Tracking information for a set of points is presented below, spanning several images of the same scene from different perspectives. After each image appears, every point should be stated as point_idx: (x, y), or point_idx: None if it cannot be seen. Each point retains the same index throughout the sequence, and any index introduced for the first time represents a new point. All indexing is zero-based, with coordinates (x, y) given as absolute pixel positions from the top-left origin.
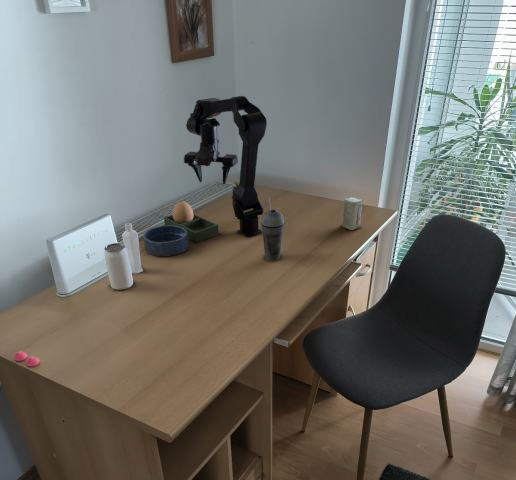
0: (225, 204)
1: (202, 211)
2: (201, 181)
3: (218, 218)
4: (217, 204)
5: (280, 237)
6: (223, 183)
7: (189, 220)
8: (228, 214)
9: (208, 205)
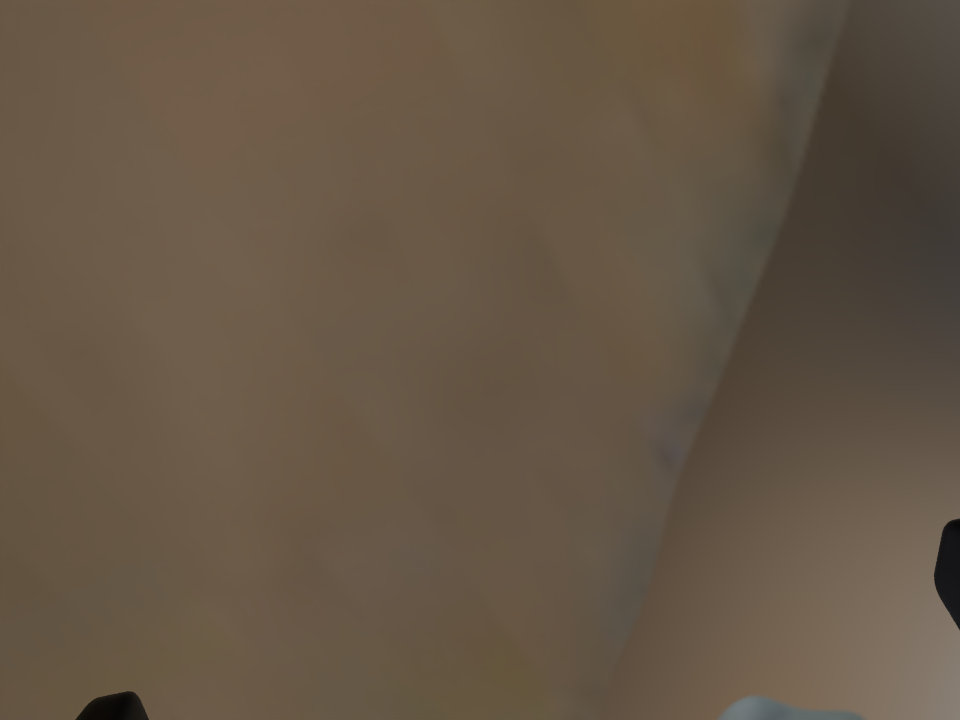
0: (468, 609)
1: (666, 285)
2: (943, 575)
3: (279, 130)
4: (569, 568)
5: None
6: (104, 712)
7: None
8: (224, 346)
9: (670, 495)
